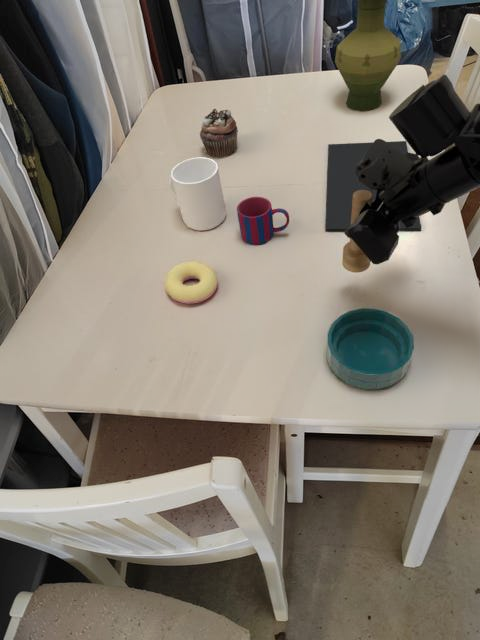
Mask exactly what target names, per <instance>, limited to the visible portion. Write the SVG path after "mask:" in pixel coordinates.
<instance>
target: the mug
mask: <svg viewBox="0 0 480 640" xmlns="http://www.w3.org/2000/svg"><path fill="white" fill-rule="evenodd" d="M219 170H220V169H219V165H218V163H217V161H215V160H214V159H212V158H211V157H210V158H209V157H204V156H203V157H202V156H199V157H198V156H196V157H190V158H187V159H185V160H182V161H180V162H179V163H177V164H176V165H175V166H174V167H173V168H172V169H171V171H170V176H169V188H170V192H171V194H172V196H173V198H174V199H175V201H176V202H177V203H178V207H179V209H180V213H181V217H182V220H183V222H184V224H185V226H186V227H188V229H191V230H195V231H209V230H213V229H214V228H217V227H218V226H220V225H221V224H222V222H224V221H225V219H226V218H227V217H226V216H227V208H226V204H225V203H226V202H225V197H224V191H223V187H222V181H221V176H220V171H219Z"/></svg>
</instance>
